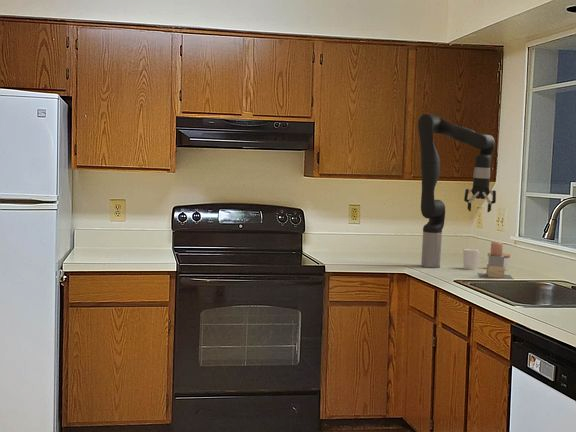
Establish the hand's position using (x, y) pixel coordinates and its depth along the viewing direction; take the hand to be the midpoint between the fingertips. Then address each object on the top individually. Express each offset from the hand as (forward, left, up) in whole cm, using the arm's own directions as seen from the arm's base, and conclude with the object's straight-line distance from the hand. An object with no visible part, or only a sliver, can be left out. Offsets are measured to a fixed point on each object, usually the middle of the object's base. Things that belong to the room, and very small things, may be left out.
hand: (478, 211), depth 352 cm
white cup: (-10, -1, -30) cm, 31 cm away
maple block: (+10, +8, -29) cm, 31 cm away
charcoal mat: (+10, +8, -29) cm, 32 cm away
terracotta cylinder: (+10, +8, -19) cm, 23 cm away
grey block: (+10, +8, -24) cm, 27 cm away
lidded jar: (-17, +13, -30) cm, 37 cm away
